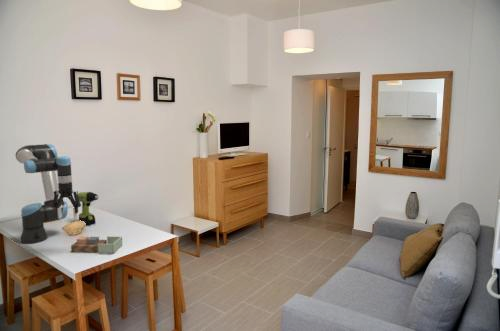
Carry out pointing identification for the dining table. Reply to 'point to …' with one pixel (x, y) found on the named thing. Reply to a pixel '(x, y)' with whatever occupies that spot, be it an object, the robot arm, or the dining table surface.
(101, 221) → the dining table surface
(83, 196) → the cordless drill
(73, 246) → the walnut board
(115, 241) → the tray
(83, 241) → the peach square block
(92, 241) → the grey square block
